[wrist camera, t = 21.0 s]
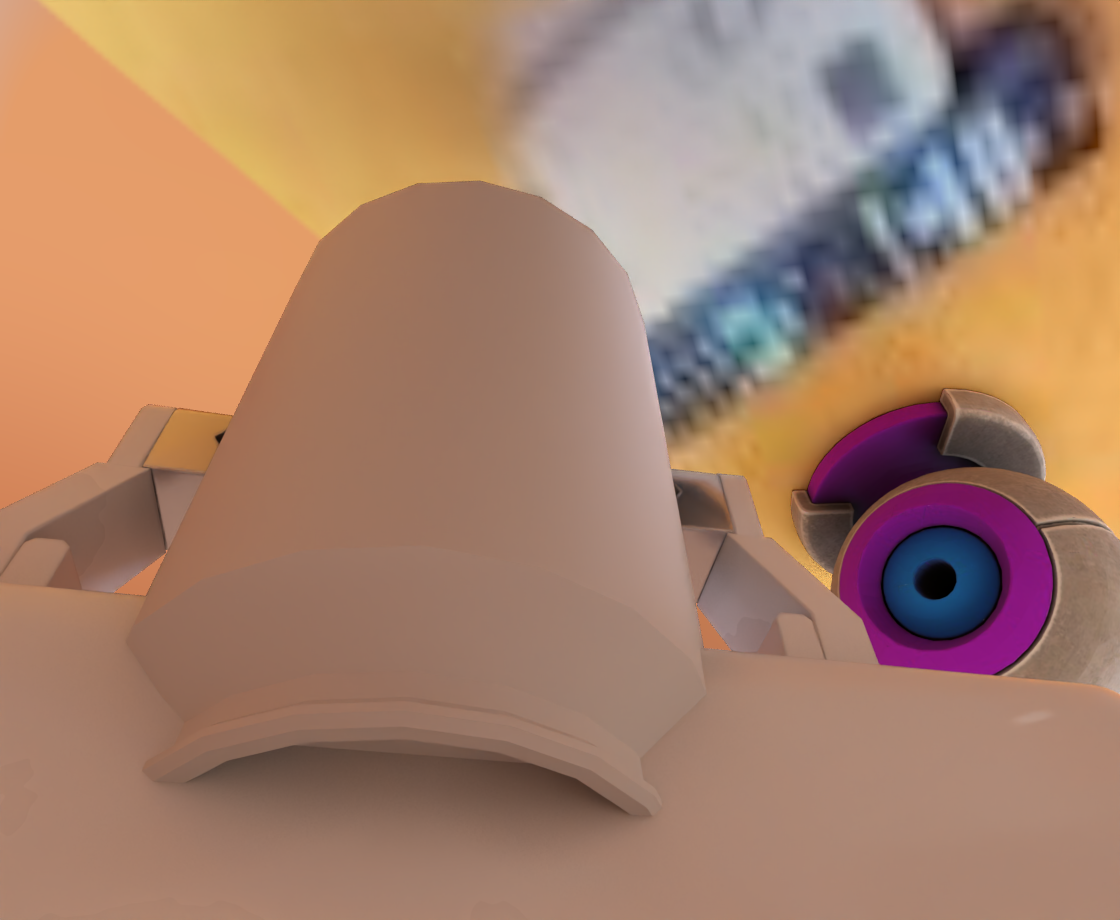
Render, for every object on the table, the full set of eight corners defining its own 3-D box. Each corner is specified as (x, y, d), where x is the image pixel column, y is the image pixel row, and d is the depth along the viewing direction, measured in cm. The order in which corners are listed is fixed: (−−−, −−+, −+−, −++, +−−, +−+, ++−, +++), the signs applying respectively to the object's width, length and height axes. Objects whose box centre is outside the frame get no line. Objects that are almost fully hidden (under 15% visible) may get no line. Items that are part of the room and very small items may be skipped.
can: (284, 141, 16) (-89, 669, 6) (672, 184, 16) (842, 722, 7) (313, 447, 20) (122, 1004, 11) (612, 471, 21) (666, 1016, 12)
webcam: (961, 344, 39) (1145, 577, 28) (1075, 481, 45) (1265, 720, 34) (746, 494, 45) (824, 739, 33) (872, 597, 51) (975, 837, 39)
